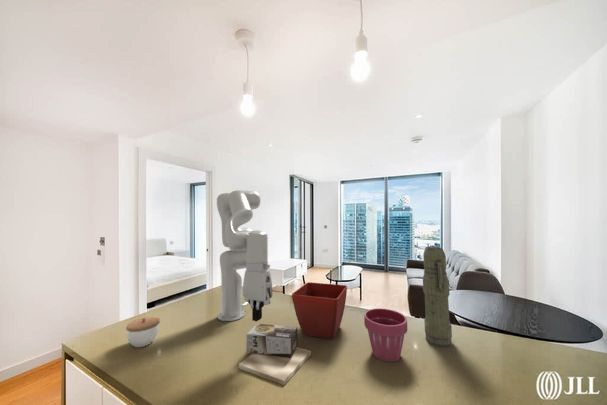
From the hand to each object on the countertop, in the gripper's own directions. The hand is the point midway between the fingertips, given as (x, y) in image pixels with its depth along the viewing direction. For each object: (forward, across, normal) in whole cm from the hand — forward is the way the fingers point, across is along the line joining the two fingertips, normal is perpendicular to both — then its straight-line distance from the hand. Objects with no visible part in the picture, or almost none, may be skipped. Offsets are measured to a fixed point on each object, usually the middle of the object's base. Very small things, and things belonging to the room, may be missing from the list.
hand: (257, 319), depth 84 cm
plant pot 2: (+12, -40, -20) cm, 46 cm away
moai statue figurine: (+12, -56, -38) cm, 69 cm away
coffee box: (+7, +4, -1) cm, 8 cm away
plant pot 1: (+12, -13, -26) cm, 31 cm away
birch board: (+12, -8, 0) cm, 14 cm away
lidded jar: (+12, +44, +14) cm, 48 cm away
